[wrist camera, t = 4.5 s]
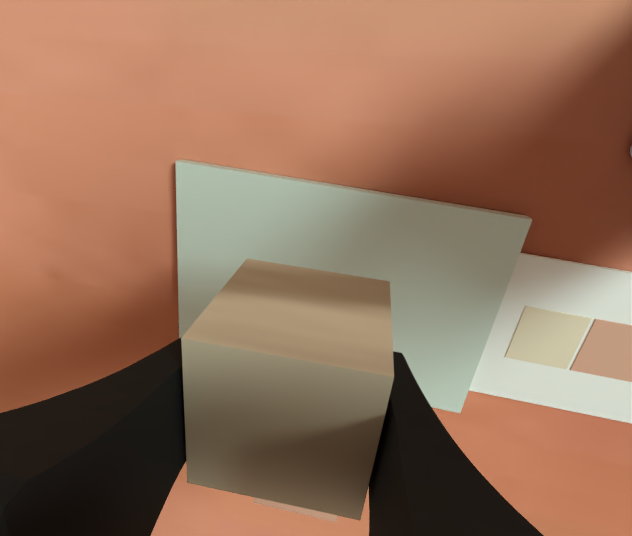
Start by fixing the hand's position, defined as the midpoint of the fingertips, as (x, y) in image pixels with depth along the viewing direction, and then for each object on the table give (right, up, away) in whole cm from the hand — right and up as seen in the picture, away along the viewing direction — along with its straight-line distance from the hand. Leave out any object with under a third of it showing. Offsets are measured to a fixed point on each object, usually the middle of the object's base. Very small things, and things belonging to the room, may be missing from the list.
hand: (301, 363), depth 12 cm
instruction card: (+13, -1, +7) cm, 15 cm away
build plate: (+1, +2, +8) cm, 9 cm away
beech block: (0, +1, +1) cm, 2 cm away
